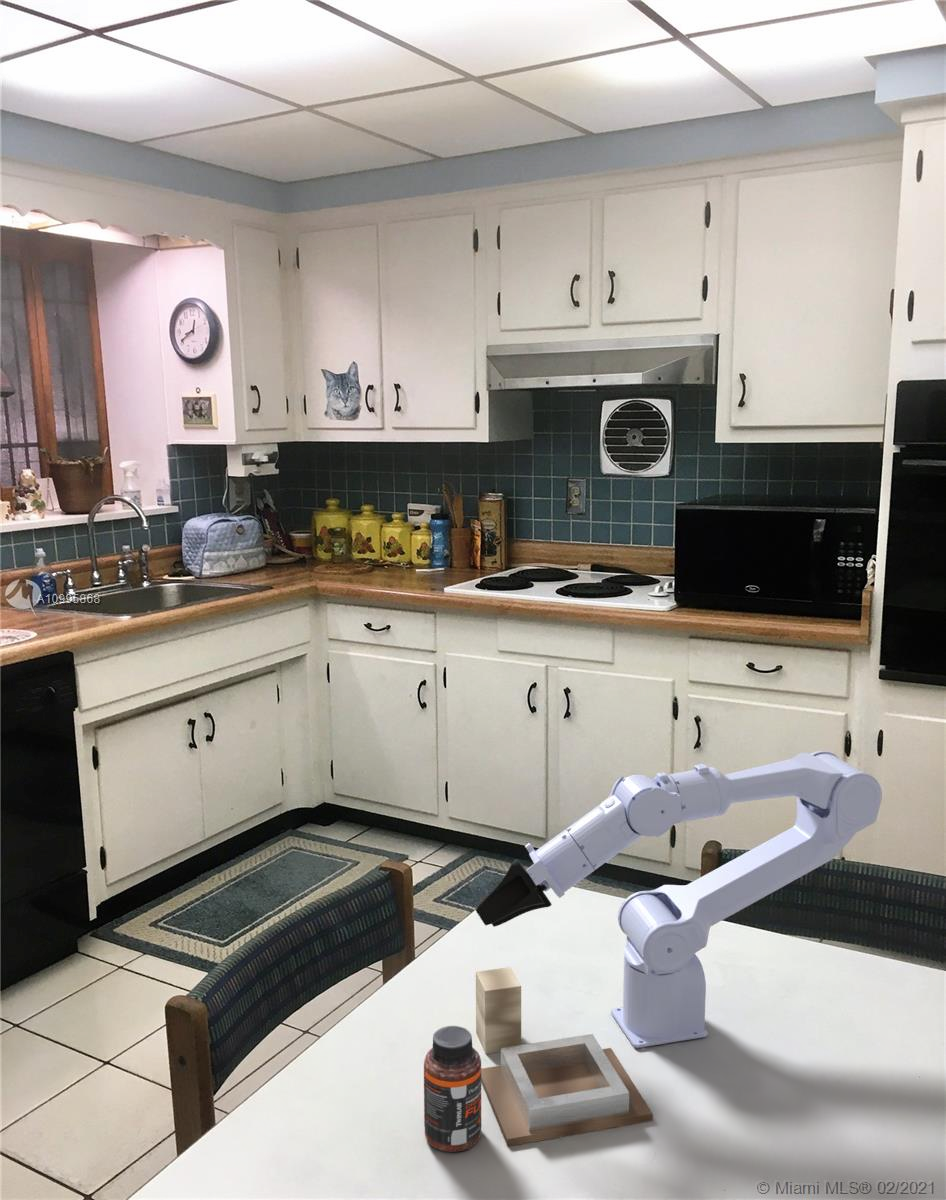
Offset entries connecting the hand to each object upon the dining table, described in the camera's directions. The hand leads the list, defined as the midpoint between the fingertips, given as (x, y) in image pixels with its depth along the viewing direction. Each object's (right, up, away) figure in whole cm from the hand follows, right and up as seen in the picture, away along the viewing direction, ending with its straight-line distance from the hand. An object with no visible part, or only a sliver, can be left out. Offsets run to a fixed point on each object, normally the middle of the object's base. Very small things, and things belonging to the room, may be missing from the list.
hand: (484, 918), depth 120 cm
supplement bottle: (-3, -19, -12) cm, 23 cm away
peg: (+2, -16, +4) cm, 17 cm away
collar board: (+8, -18, -6) cm, 21 cm away
